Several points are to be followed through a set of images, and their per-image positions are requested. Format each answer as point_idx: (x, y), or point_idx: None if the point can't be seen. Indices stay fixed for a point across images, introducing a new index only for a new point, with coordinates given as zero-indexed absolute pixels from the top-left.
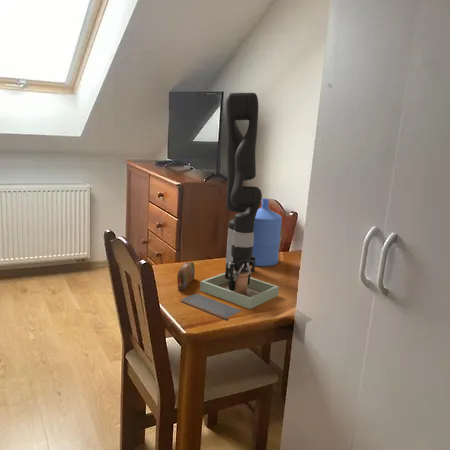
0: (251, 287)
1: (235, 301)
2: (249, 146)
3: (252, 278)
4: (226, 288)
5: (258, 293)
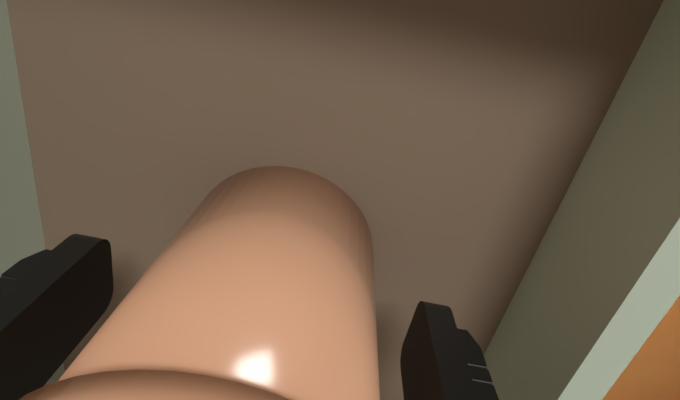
0: (514, 303)
1: None
2: None
3: (590, 390)
4: (320, 58)
5: (398, 385)
